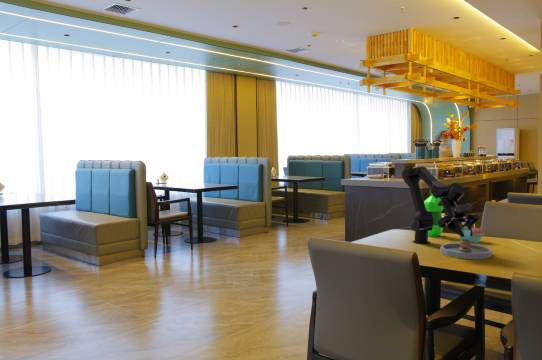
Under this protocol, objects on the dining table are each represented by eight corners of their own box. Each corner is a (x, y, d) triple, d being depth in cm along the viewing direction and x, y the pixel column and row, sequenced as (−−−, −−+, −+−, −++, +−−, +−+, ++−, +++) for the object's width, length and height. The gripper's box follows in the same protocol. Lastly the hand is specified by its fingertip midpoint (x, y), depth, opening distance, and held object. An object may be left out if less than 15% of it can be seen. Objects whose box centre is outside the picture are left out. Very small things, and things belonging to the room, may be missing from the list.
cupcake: (463, 240, 234) (463, 217, 234) (479, 239, 234) (480, 216, 234) (470, 243, 226) (471, 219, 225) (487, 243, 226) (488, 219, 225)
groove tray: (458, 246, 219) (458, 241, 219) (501, 254, 202) (501, 249, 201) (430, 252, 207) (431, 246, 207) (473, 261, 190) (473, 255, 190)
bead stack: (460, 248, 203) (460, 224, 202) (472, 250, 200) (473, 225, 199) (457, 250, 199) (457, 226, 198) (469, 252, 196) (470, 227, 195)
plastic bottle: (433, 238, 239) (434, 191, 238) (419, 234, 249) (419, 189, 247) (447, 236, 244) (448, 190, 242) (432, 233, 253) (433, 188, 251)
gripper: (442, 197, 198) (459, 226, 189) (477, 196, 204) (495, 224, 194) (430, 213, 206) (446, 241, 197) (464, 211, 212) (481, 238, 202)
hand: (467, 236), depth 197 cm, fingers closed on bead stack, 4 cm apart
